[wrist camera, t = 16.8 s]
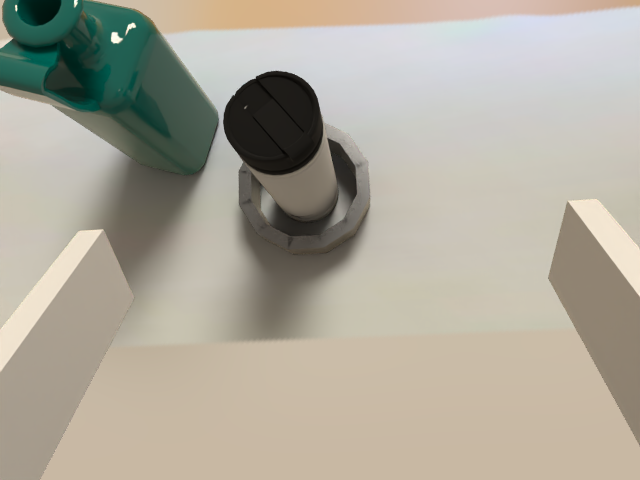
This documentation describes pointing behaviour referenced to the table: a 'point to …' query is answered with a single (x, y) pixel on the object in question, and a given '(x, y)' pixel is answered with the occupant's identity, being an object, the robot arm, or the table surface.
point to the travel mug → (284, 143)
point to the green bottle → (109, 78)
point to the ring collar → (333, 236)
